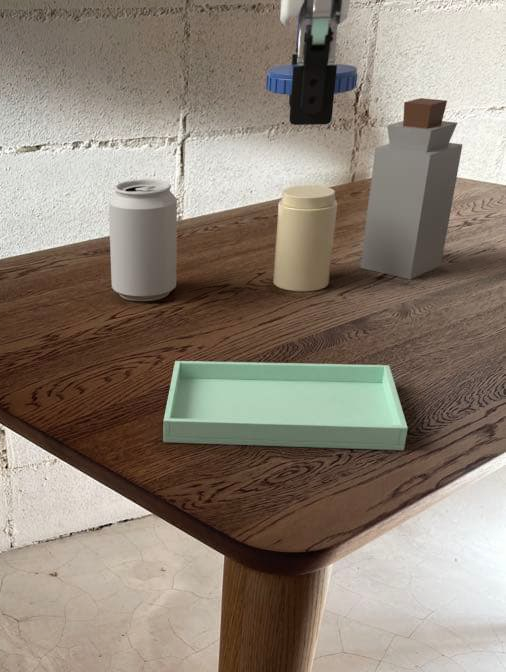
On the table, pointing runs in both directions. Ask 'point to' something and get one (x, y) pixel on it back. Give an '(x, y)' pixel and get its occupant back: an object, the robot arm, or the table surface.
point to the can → (143, 239)
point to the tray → (284, 405)
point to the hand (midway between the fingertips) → (309, 113)
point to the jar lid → (282, 76)
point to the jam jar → (304, 238)
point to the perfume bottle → (411, 192)
